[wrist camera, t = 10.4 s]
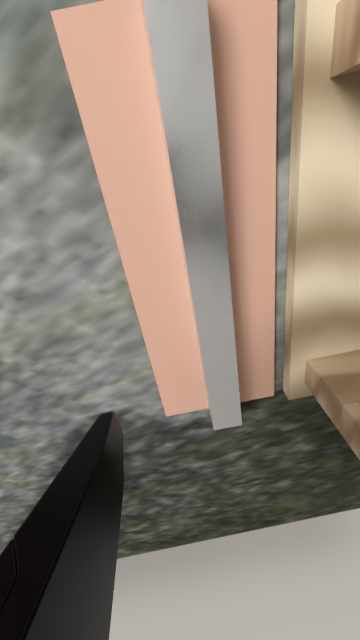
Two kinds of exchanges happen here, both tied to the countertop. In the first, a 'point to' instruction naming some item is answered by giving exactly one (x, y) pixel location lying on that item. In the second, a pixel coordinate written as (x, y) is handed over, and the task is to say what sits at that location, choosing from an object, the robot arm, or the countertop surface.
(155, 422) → the countertop surface
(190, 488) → the countertop surface
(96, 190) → the countertop surface
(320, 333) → the hook stand
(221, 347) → the steel rail
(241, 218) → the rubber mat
